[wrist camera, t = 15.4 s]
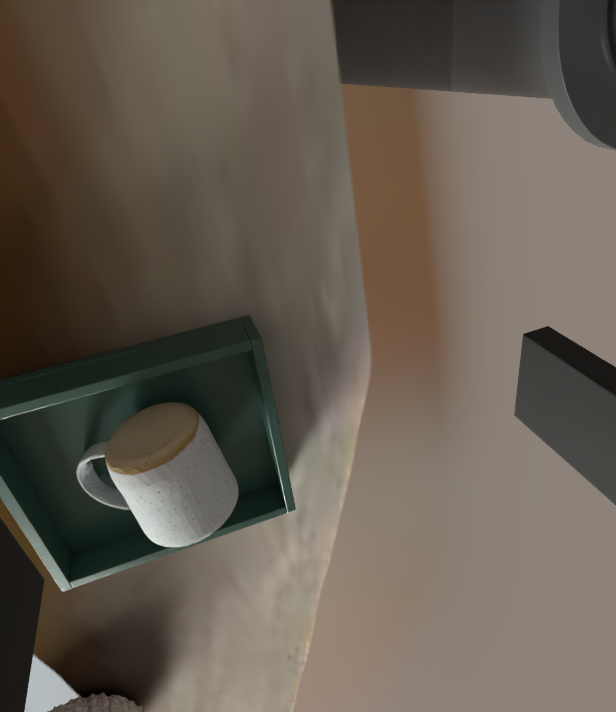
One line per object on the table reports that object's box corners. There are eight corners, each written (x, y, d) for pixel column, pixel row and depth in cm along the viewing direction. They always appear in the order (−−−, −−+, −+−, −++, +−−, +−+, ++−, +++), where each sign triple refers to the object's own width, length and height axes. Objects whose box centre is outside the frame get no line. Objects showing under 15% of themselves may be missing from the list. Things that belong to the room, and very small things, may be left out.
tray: (249, 314, 37) (261, 337, 34) (284, 480, 47) (296, 510, 43) (-35, 388, 33) (-50, 422, 30) (66, 553, 42) (62, 592, 39)
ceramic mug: (192, 380, 37) (205, 445, 31) (230, 454, 42) (248, 523, 35) (55, 437, 36) (39, 516, 30) (110, 507, 41) (106, 588, 34)
